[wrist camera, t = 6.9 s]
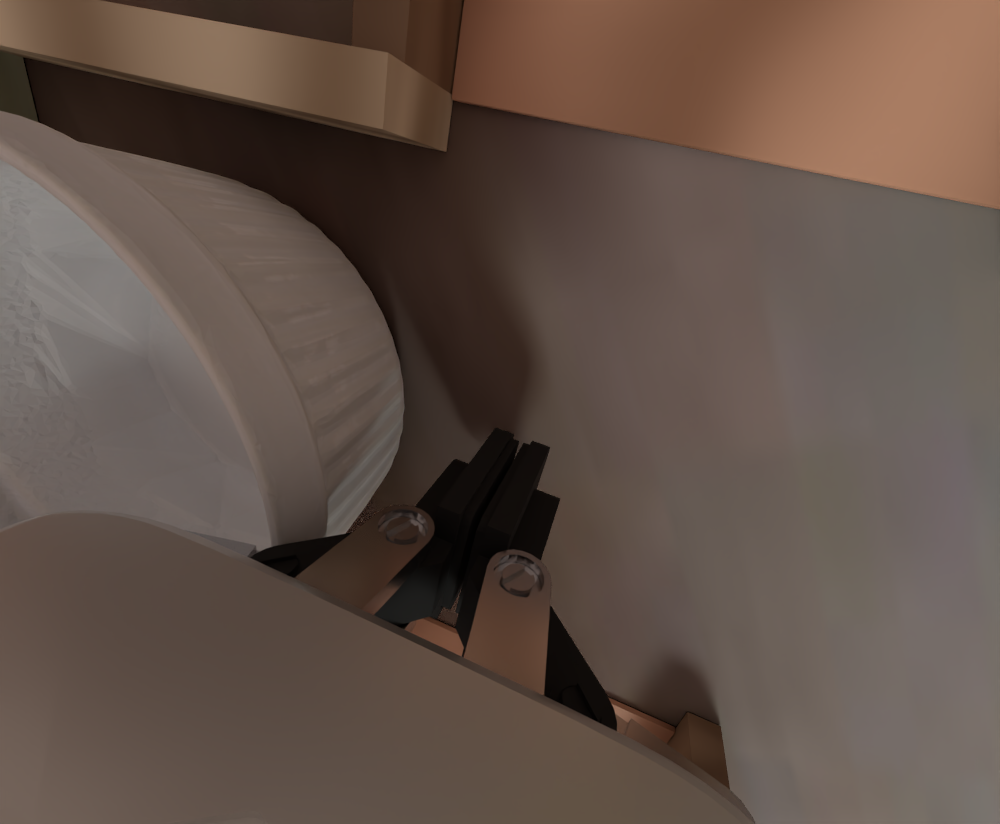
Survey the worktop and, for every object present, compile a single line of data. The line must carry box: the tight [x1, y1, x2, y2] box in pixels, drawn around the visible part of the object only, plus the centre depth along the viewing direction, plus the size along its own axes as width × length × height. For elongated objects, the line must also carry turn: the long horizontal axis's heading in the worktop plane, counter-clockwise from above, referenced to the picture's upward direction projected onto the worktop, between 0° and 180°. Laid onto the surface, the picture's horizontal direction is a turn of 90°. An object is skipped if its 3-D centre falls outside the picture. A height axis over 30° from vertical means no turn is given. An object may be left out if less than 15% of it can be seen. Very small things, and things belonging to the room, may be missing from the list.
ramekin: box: [0, 111, 405, 551], centre depth 12 cm, size 13×13×7 cm
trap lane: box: [0, 0, 1000, 790], centre depth 13 cm, size 30×31×4 cm
